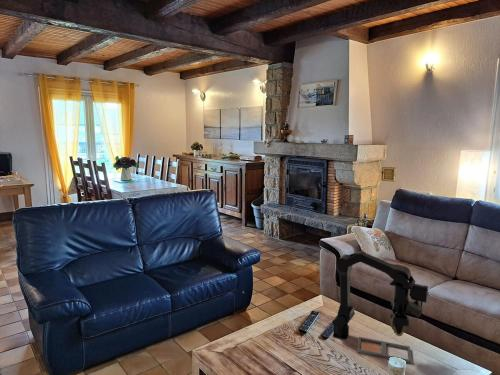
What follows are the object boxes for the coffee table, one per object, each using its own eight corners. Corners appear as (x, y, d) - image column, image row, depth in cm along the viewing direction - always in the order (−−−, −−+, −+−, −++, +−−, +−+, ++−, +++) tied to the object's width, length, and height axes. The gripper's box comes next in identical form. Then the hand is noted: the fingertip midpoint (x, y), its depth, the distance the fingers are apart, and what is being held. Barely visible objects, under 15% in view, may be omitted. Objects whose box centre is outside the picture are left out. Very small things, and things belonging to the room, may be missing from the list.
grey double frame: (356, 352, 157) (357, 350, 157) (358, 338, 167) (358, 336, 167) (411, 364, 149) (411, 361, 149) (409, 348, 160) (409, 346, 159)
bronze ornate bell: (409, 340, 151) (410, 322, 149) (390, 338, 152) (392, 321, 151) (405, 330, 158) (406, 313, 156) (387, 328, 159) (389, 312, 158)
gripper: (423, 309, 141) (420, 345, 143) (419, 289, 158) (417, 322, 160) (393, 304, 144) (391, 339, 147) (392, 286, 162) (390, 317, 164)
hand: (398, 329), depth 155 cm, fingers closed on bronze ornate bell, 6 cm apart
